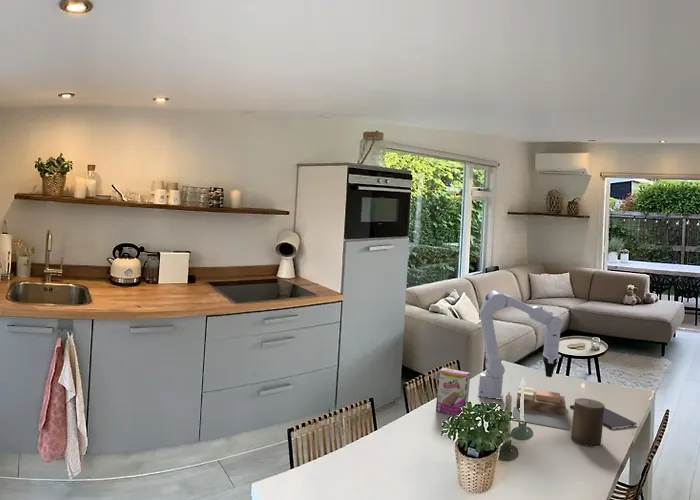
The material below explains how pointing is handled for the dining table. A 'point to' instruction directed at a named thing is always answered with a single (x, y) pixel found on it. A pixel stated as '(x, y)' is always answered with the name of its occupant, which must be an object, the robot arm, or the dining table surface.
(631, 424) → the notebook
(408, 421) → the dining table surface
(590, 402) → the pillar candle
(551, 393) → the peach rectangular block
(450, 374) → the candy bar box
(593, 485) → the dining table surface
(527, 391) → the cream flat block
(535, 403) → the tan flat block
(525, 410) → the mat
